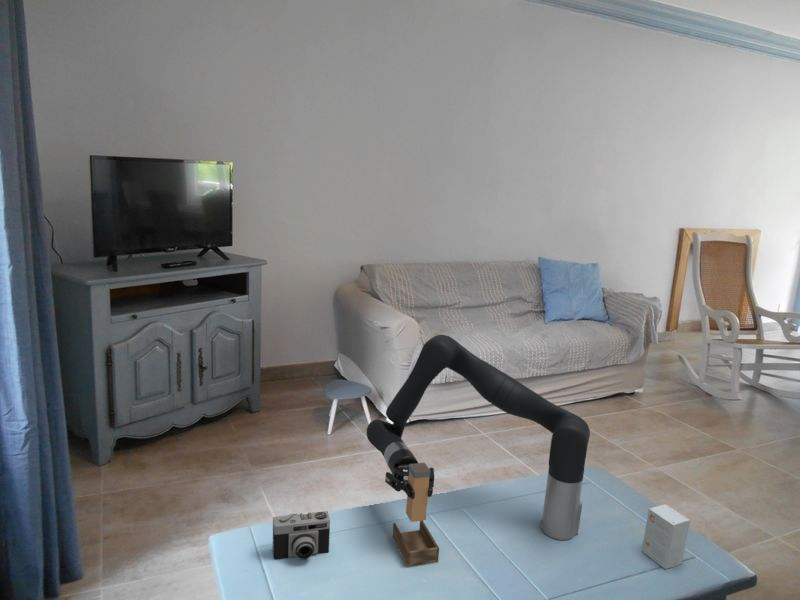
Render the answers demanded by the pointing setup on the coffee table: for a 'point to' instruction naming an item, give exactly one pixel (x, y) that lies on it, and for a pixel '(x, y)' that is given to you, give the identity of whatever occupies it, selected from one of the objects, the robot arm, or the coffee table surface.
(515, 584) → the coffee table surface
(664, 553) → the small box
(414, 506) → the brown tall square block
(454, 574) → the coffee table surface
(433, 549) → the walnut box
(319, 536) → the camera
